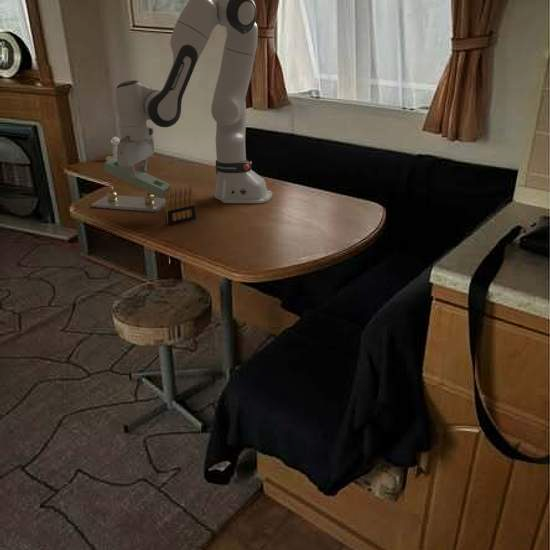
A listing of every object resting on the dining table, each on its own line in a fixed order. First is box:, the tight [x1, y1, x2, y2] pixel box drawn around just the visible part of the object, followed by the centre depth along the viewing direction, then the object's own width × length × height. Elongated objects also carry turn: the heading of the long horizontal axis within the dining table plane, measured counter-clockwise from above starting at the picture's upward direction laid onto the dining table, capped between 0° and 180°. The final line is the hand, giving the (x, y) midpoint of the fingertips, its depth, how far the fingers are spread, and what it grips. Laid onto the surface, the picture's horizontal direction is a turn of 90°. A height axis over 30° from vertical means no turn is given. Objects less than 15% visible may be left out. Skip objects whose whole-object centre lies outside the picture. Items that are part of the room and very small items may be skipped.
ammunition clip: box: [164, 185, 197, 227], centre depth 183 cm, size 11×2×12 cm, turn 128°
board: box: [102, 158, 172, 199], centre depth 184 cm, size 22×6×3 cm, turn 77°
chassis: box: [91, 185, 170, 213], centre depth 201 cm, size 26×12×7 cm, turn 77°
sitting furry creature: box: [105, 136, 121, 162], centre depth 261 cm, size 10×9×12 cm
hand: (138, 174), depth 184 cm, fingers closed on board, 6 cm apart
